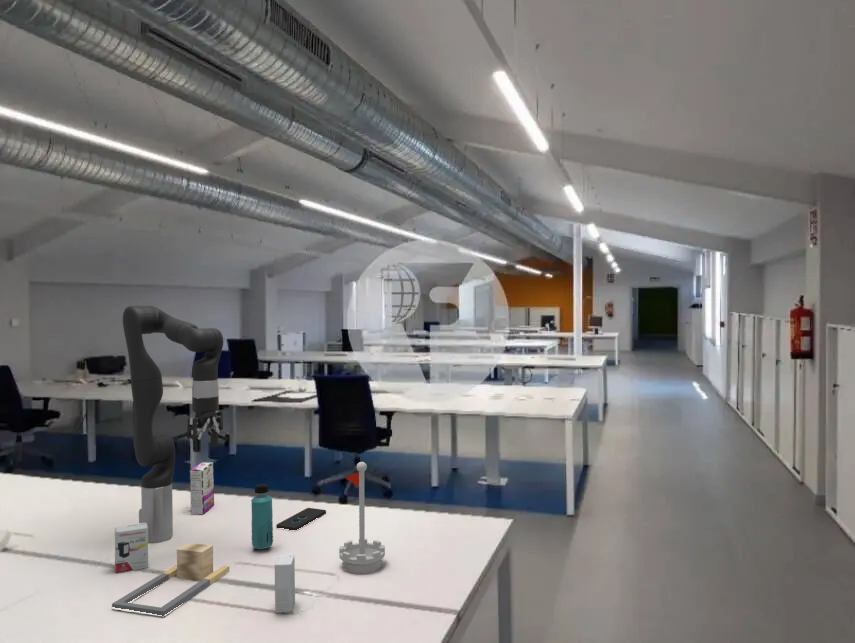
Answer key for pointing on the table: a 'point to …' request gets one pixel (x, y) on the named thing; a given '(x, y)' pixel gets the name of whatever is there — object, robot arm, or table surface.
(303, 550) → the table surface
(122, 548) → the ink box
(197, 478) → the candy bar box
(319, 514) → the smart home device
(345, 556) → the flag stand
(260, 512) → the beverage bottle
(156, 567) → the table surface
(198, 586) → the rail bay
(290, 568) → the skincare box
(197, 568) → the wooden block
